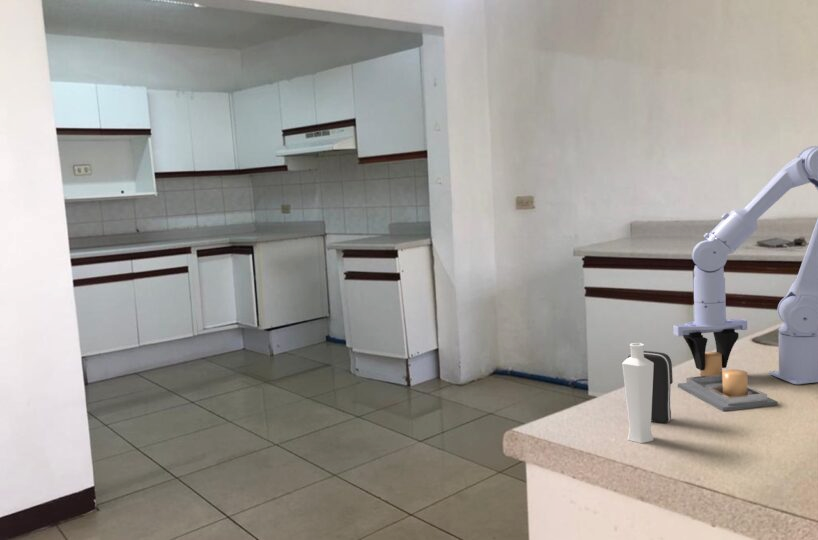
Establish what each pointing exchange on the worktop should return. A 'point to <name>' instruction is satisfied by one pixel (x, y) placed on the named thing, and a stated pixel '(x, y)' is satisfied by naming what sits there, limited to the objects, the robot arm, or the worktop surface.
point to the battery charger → (660, 385)
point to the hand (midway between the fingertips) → (711, 367)
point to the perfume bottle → (638, 393)
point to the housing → (727, 391)
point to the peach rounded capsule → (712, 364)
